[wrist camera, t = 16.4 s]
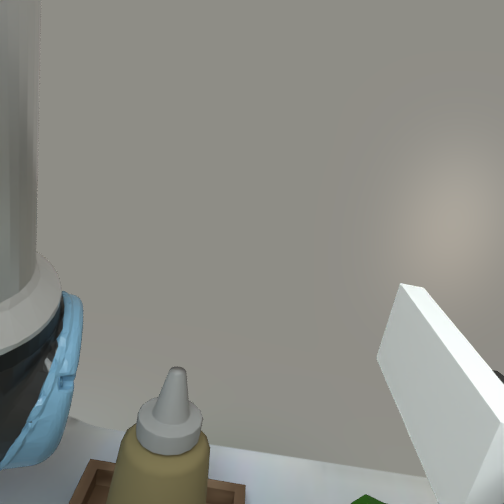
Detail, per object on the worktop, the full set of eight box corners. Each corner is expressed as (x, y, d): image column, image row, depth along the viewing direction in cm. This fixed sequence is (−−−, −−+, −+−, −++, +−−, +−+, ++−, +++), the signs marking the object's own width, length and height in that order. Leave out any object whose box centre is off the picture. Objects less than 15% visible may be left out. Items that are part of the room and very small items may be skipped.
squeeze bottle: (75, 558, 37) (93, 362, 32) (154, 502, 43) (181, 331, 38) (138, 638, 33) (172, 427, 27) (217, 563, 39) (258, 379, 33)
